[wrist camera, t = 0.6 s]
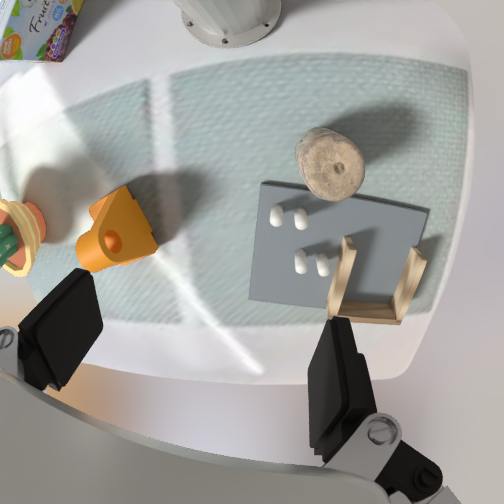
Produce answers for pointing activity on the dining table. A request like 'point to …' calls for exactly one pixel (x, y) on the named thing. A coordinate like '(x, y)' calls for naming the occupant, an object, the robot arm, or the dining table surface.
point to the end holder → (373, 311)
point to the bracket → (115, 233)
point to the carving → (330, 164)
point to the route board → (328, 246)
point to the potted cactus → (20, 236)
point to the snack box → (36, 29)
